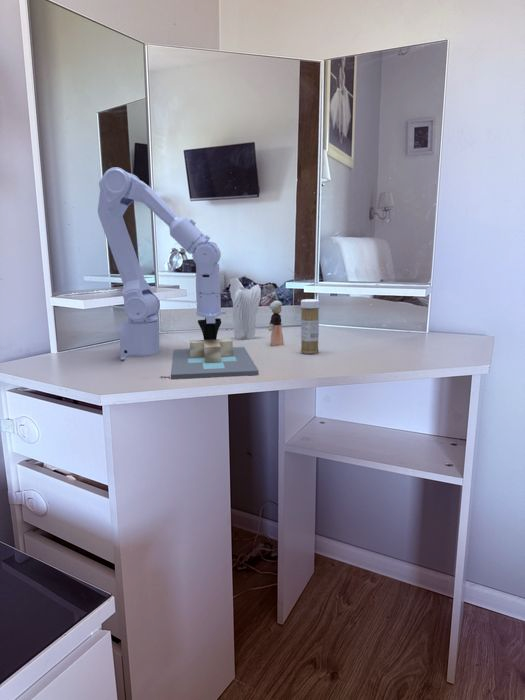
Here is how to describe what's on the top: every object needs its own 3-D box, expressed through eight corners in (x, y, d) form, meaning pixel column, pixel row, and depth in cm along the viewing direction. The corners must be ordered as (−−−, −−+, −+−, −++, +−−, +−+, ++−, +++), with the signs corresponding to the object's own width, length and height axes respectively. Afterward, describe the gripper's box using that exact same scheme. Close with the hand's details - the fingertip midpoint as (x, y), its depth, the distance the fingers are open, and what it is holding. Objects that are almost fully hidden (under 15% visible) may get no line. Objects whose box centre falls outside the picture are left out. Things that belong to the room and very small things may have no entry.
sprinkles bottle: (315, 350, 125) (316, 298, 123) (321, 354, 121) (321, 300, 118) (298, 351, 125) (298, 299, 122) (303, 355, 120) (303, 300, 117)
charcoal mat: (170, 379, 98) (170, 374, 98) (173, 353, 124) (173, 349, 123) (258, 375, 101) (258, 370, 101) (244, 350, 126) (244, 346, 126)
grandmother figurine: (281, 351, 125) (281, 302, 123) (266, 350, 126) (266, 301, 124) (286, 345, 133) (285, 299, 130) (272, 345, 134) (271, 298, 131)
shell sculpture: (263, 342, 137) (262, 278, 134) (234, 344, 135) (233, 279, 131) (254, 337, 145) (254, 277, 142) (228, 339, 143) (226, 277, 139)
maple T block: (190, 363, 108) (190, 348, 107) (190, 354, 117) (189, 340, 117) (235, 361, 109) (235, 346, 108) (231, 352, 119) (231, 338, 118)
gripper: (227, 295, 110) (229, 353, 113) (222, 290, 124) (224, 342, 127) (196, 296, 109) (198, 355, 112) (195, 291, 123) (197, 343, 126)
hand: (210, 348), depth 119 cm, fingers closed
